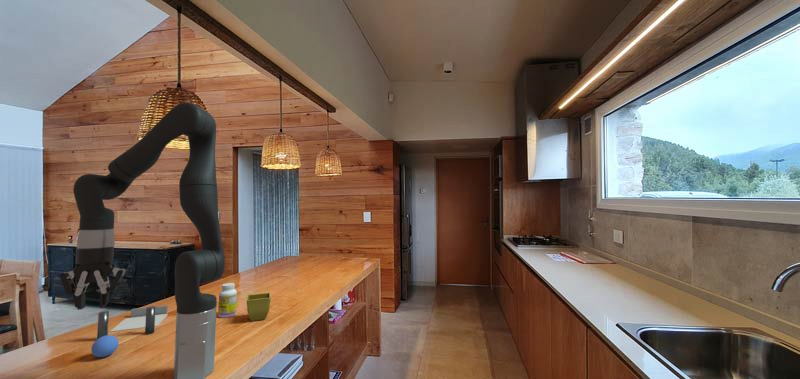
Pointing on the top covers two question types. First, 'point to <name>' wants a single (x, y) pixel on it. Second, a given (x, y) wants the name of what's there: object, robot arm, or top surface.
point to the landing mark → (137, 322)
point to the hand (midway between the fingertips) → (92, 307)
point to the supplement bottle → (227, 301)
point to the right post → (150, 320)
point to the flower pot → (258, 306)
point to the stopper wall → (142, 311)
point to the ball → (104, 346)
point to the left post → (102, 324)
